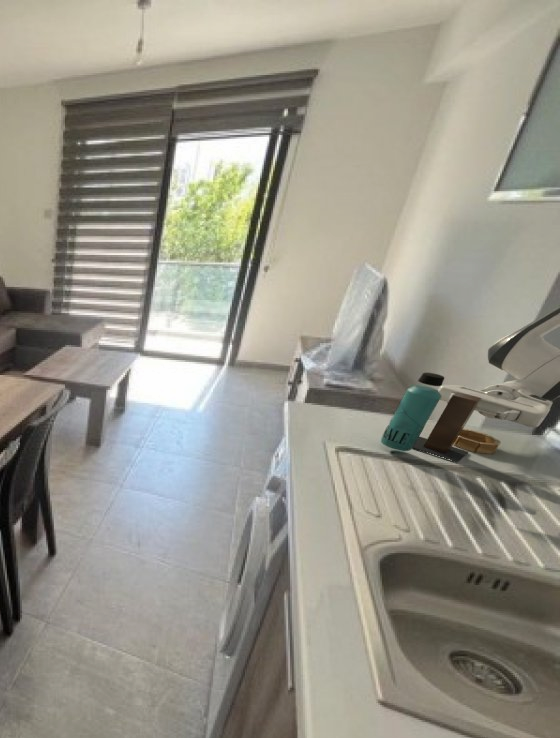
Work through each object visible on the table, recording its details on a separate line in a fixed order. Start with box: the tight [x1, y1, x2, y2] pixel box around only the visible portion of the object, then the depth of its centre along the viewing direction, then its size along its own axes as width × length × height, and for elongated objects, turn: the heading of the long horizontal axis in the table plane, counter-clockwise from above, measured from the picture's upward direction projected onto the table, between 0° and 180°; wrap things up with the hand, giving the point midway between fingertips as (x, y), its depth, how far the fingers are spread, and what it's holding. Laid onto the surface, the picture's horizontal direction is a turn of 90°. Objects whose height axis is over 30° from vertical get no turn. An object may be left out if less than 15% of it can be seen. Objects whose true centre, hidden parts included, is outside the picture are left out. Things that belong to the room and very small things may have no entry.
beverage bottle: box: [380, 372, 445, 452], centre depth 114 cm, size 6×7×20 cm
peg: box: [423, 392, 481, 454], centre depth 117 cm, size 4×4×14 cm
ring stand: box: [453, 428, 502, 455], centre depth 124 cm, size 9×9×2 cm
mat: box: [412, 435, 469, 463], centre depth 121 cm, size 10×10×1 cm
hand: (474, 408), depth 119 cm, fingers open, 8 cm apart
